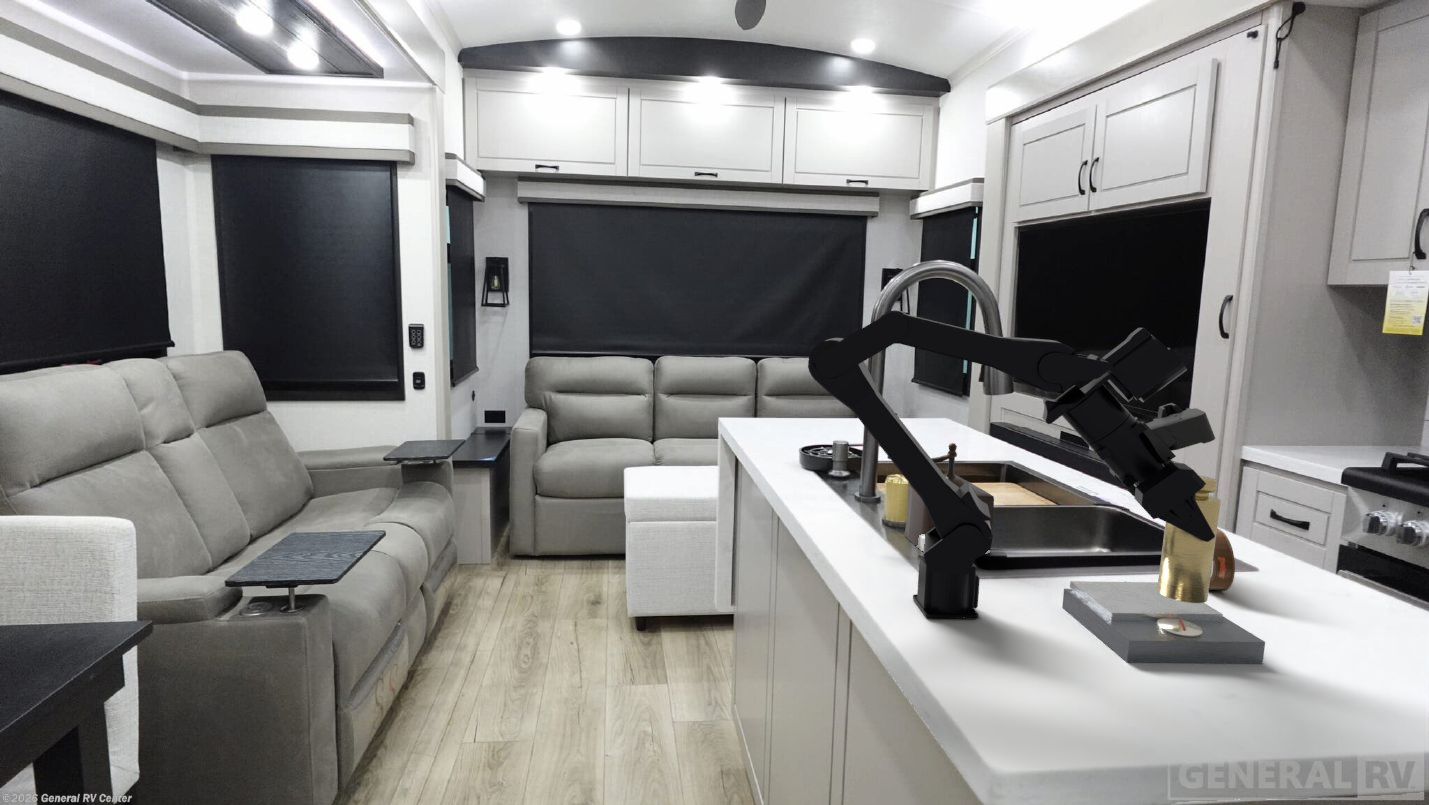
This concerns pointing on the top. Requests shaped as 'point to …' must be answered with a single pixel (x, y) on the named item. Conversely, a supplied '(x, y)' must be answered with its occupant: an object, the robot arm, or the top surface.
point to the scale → (1158, 625)
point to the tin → (1222, 563)
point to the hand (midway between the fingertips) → (1203, 532)
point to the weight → (1190, 553)
